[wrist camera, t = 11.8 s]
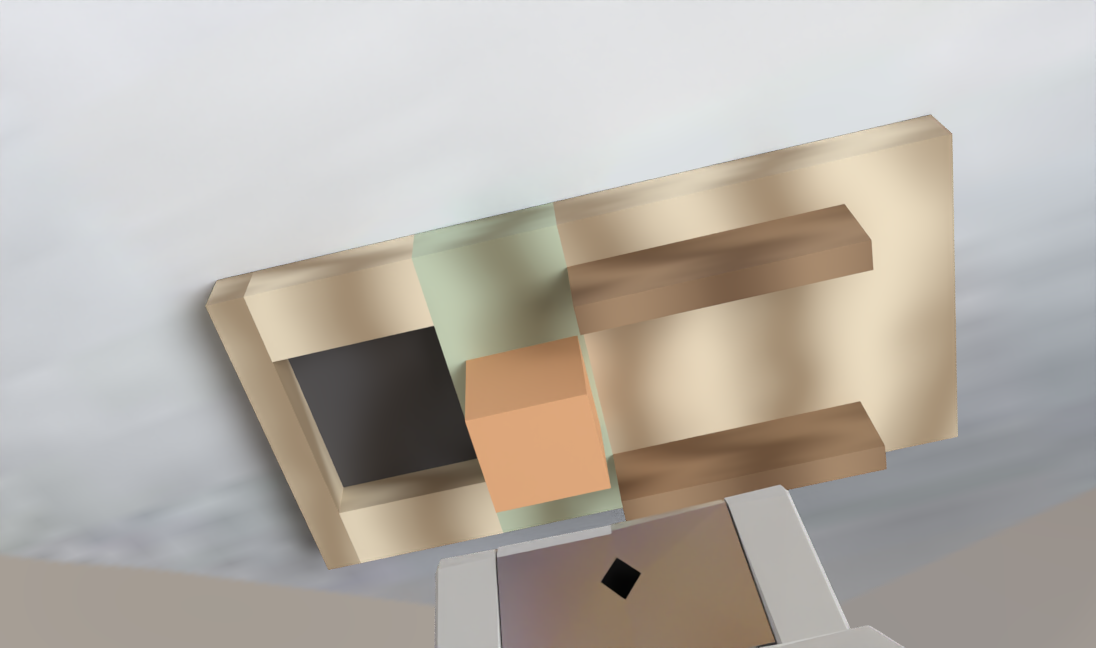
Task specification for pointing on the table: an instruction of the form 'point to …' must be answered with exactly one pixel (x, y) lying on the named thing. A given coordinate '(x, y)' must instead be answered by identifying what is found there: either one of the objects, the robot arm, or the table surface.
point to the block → (535, 424)
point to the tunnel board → (619, 340)
